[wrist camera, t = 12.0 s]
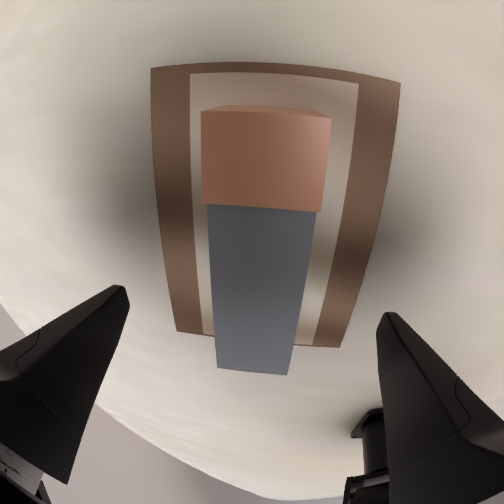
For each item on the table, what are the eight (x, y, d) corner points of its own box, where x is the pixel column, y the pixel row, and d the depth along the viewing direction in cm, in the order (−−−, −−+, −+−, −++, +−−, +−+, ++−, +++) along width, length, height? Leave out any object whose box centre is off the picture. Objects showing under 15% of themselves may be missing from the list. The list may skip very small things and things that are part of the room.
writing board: (339, 343, 18) (339, 351, 18) (178, 327, 19) (175, 334, 19) (397, 83, 10) (403, 83, 9) (154, 68, 11) (147, 67, 10)
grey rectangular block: (290, 326, 17) (288, 378, 14) (227, 320, 17) (214, 370, 14) (317, 110, 11) (331, 118, 7) (225, 105, 11) (200, 111, 8)
